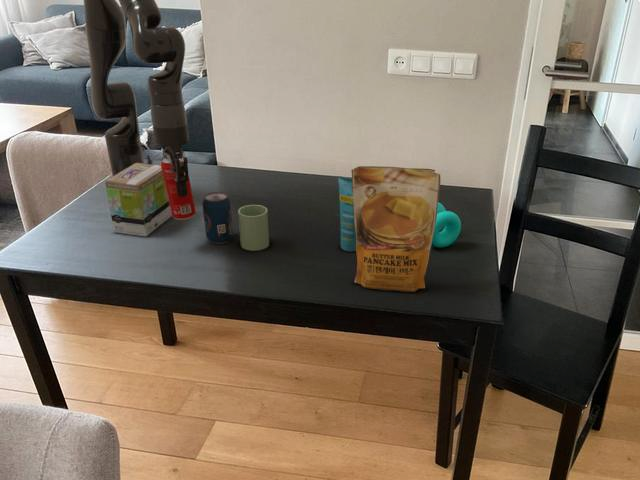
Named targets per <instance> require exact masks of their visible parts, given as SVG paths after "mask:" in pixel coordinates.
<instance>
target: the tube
mask: <svg viewBox="0 0 640 480" xmlns="http://www.w3.org/2000/svg"><path fill="white" fill-rule="evenodd" d="M337 180H338V193H339V213H340V214H339V216H340V248H341V249H342V251H344V252H345V251H346V252H356V231H355V224H354V208H353V192H352V177H345V176H341V175H337Z"/></svg>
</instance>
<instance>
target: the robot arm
mask: <svg viewBox="0 0 640 480" xmlns="http://www.w3.org/2000/svg"><path fill="white" fill-rule="evenodd" d="M118 2H119V3H118ZM83 7H84V8H83V11H84V23H85V33H86V40H87V47H88V56H89V65H90V70H89V71H90V98H91V99H90V100H91V105H92V106H91V107H92V110H93V113H94V114H95V116H96V117H97V118H98V119H100V120H115V119H121V120H120V121H119V122H118V123H117V124H116V125H114V126H113V127H111V128H109V129H107V130H106V131H105V132H104V141H105V144H106V149H107V154H108V159H109V165H110V170H111V175H112V177H113V176H114V175H116V174H118V173H119V172H121V171H123V170H125V169H126V168H128V167H130V166H131V165H133V164H135V163H142V164H145V159H144V158H145V157H144V152H143V148H142V141H141V140H142V139H141V136H140V125H139V124H140V123H139V118H138V116H139V115H138V108H137V106H138V105H137V100H136V99H137V98H136V95H135V92H134V89H133V87H132V85H131V84H130V83H129V82H125V81H120V82H111V83H108V81H109V76H110V74H111V71H112V69H113V68H114V65H116V63H117V61H118V59H119V58H120V56H121V55H122V53H123V51H124V49H125V47H126V44H127V26H126V25H127V23H126V19H127V21H128V23H129V27H130V32H131V38H132V48H133V52H134V55H135V57H136V58H137V59H138V60H139V61H140V62H141V63H143V64H145V65H153V64H154V65H155V64H165V66H164V68H163V69H161V71H159V72H156V73H154V74H152V75H149V76H148V78H147V88H148V94H149V95H148V96H149V102H150V116H151V123H152V130H153V136H154V142H155V144H156V145H157V146H159V147H161V149H162V150H161V152H162V156H163V157H162V158H164V157H165V158H167V160H168V161H169V163H170V166H171V171H172V172H173V173H174V176H175V181H176V187H177V194H178V196H179V197H183V196H187V195H188V193H187V185H186V181H189V180H190V175H189V164H188V163H189V162H188V158H187V156H186V154H185V151H184V150H182V146H184V145H186V144H188V143H189V141H190V136H189V127H188V120H187V119H188V118H187V111H186V108H185V103H184V97H183V95H184V94H183V88H182V78H183V77H182V76H183V67H184V61H185V56H186V43H185V39H184V37H183V36H184V35H183V34H182V32H181V31H180V30H179V29H178V28H176V27H174V26H161V27H160V25H161V23H162V21H163V17H162V12H161V10H160V8H159V6H158V4H157V2H156V0H118V1H117V0H83ZM146 158H147V163H146V164H151V157H150V156H149V155H146ZM172 162H173V163H172ZM173 164H174V165H176V169H175V168H174V167H173ZM180 173H183V176H181V177H180Z"/></svg>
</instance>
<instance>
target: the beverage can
mask: <svg viewBox="0 0 640 480" xmlns="http://www.w3.org/2000/svg"><path fill="white" fill-rule="evenodd" d="M160 160H161V162H160V166H161V168H162V173H163V178H164V182H165V187H166V191H167V196H168V200H169V205H170V209H171V214H172V216H171V218H173V219H175V220H178V221H183V220H189V219H191V218H193V217H194V216H195V215H196V213H197V212H196V207H195V201H194V196H193V190H192V185H191V181H190V179H189V181H186V185H187V193H188V195H187V196H183V197H179V196H178V194H177V187H176V181H175V176H174V173H173V172H172V171H171V166H170V163H169V161H168V160H167V158H165V157H162V158H161V159H160ZM172 163H173V162H172ZM173 167H174V168H175V169H176V165H174V164H173ZM181 176H183V173H180V177H181Z"/></svg>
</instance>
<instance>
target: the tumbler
mask: <svg viewBox="0 0 640 480" xmlns="http://www.w3.org/2000/svg"><path fill="white" fill-rule="evenodd" d="M268 210H269V209H268V208H267V207H266V206H264V205H261V204H247V205H244V206H241V207H239V209H238V210H237V217H238V220H237V221H238V229H239V243H240V247H241V248H242V249H243V250H245V251H252V252H255V251H261V250H265V249H267V248H268V247H269V246H270V230H269V229H270V228H269V213H268V212H269V211H268Z"/></svg>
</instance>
